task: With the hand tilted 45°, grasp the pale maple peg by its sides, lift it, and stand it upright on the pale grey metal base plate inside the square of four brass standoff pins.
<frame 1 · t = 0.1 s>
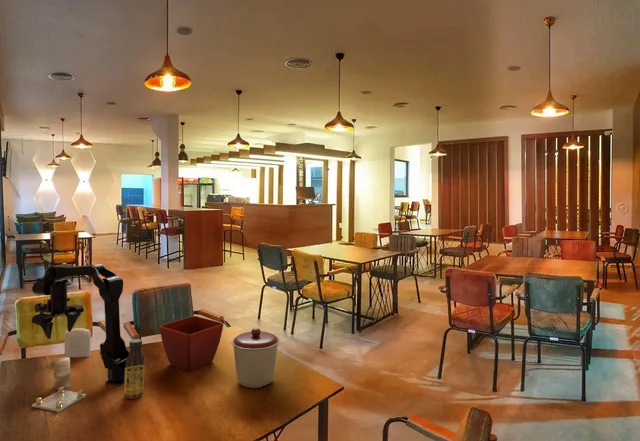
hand: (59, 335, 162), 15 cm above the table, tool pointing down, fingers open, 9 cm apart
canister: (255, 382, 156), on the table
sauce bottle: (134, 396, 144), on the table
maple peg: (62, 386, 150), on the table
base plate: (60, 401, 139), on the table
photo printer: (77, 356, 178), on the table
plant pot: (191, 363, 173), on the table
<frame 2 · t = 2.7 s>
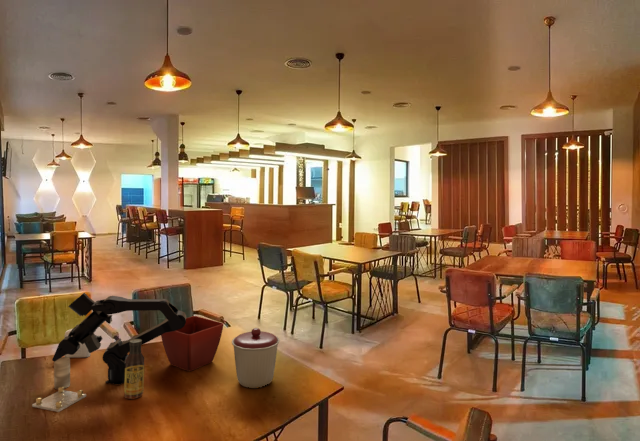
hand: (57, 355, 149), 12 cm above the table, tool tilted 45°, fingers open, 9 cm apart
nothing on the table moved.
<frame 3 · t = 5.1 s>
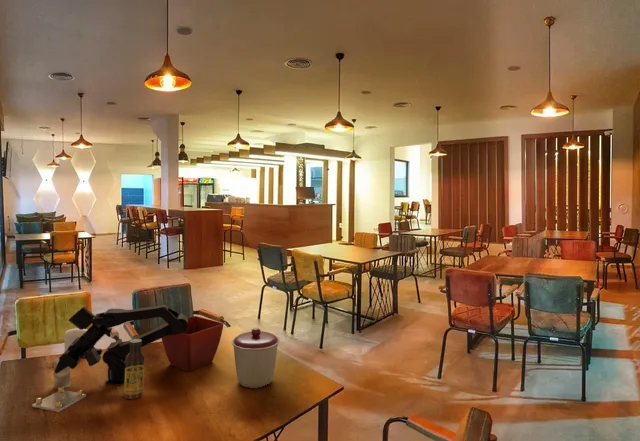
hand: (57, 369, 149), 6 cm above the table, tool tilted 45°, fingers closed on maple peg, 5 cm apart
maple peg: (62, 386, 150), on the table, touching gripper
plant pot: (191, 363, 173), on the table, touching arm
everything else where it was.
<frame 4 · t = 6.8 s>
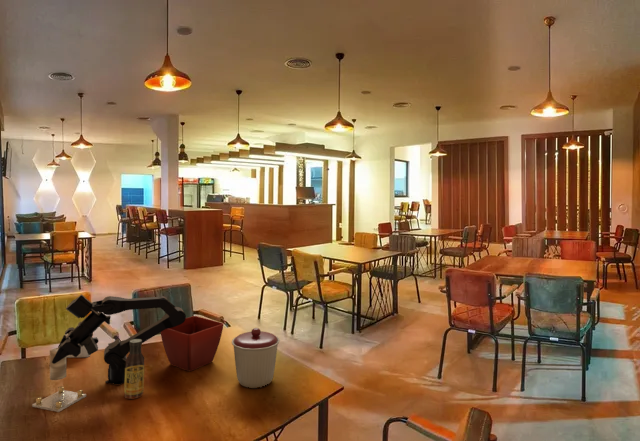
hand: (53, 360, 145), 12 cm above the table, tool tilted 45°, fingers closed on maple peg, 5 cm apart
maple peg: (58, 377, 146), point 5 cm above the table, touching gripper
plant pot: (191, 363, 173), on the table
everything else where it was.
when the fingers open (8 cm above the table, at t = 8.7 s): maple peg drops 1 cm, resting on base plate.
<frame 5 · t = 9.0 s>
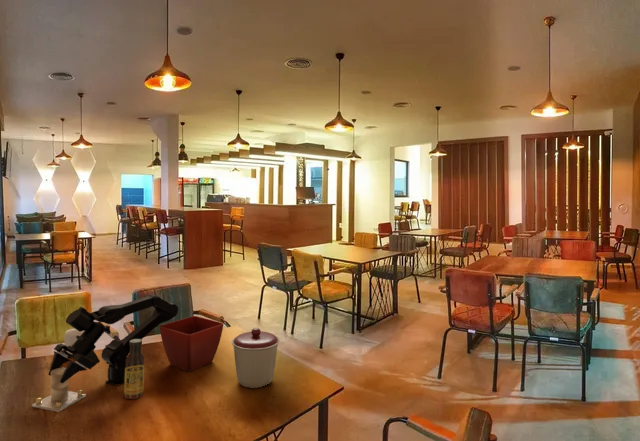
hand: (55, 378, 137), 8 cm above the table, tool tilted 45°, fingers open, 9 cm apart
maple peg: (59, 399, 139), point 1 cm above the table, touching base plate
everything else where it was.
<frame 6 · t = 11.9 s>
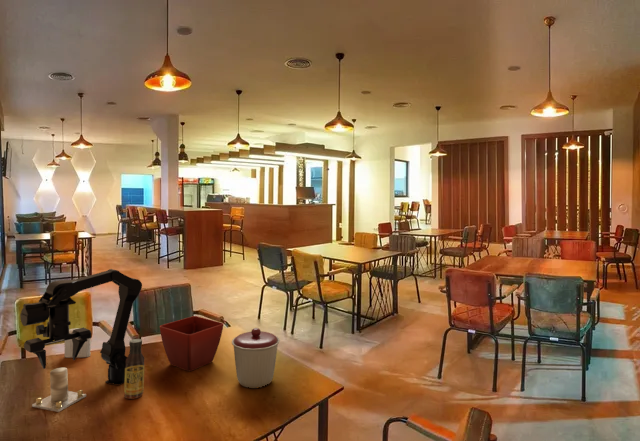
hand: (59, 364, 138), 13 cm above the table, tool pointing down, fingers open, 9 cm apart
nothing on the table moved.
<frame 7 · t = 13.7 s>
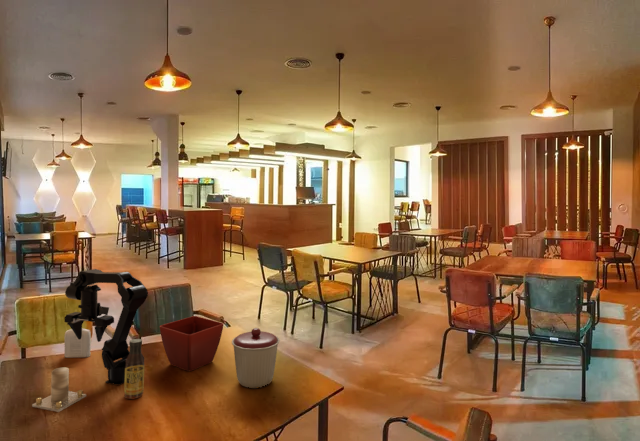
hand: (89, 340, 161), 13 cm above the table, tool pointing down, fingers open, 9 cm apart
nothing on the table moved.
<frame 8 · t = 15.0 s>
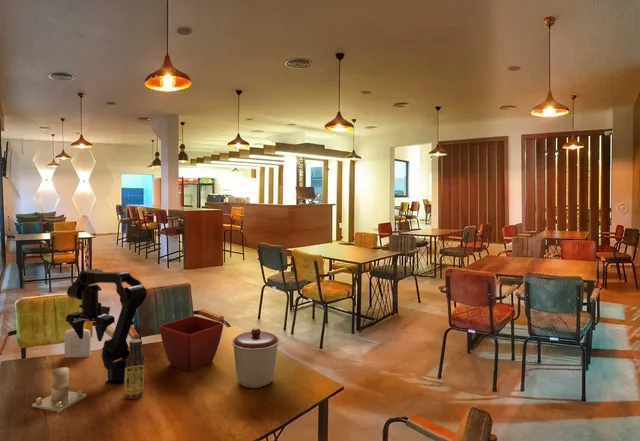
hand: (90, 340, 162), 13 cm above the table, tool pointing down, fingers open, 9 cm apart
nothing on the table moved.
at the end: maple peg 0.1 cm off-centre on the base plate, point 0.9 cm above the base plate's base; maple peg tilted 2°; the gripper is holding nothing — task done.
